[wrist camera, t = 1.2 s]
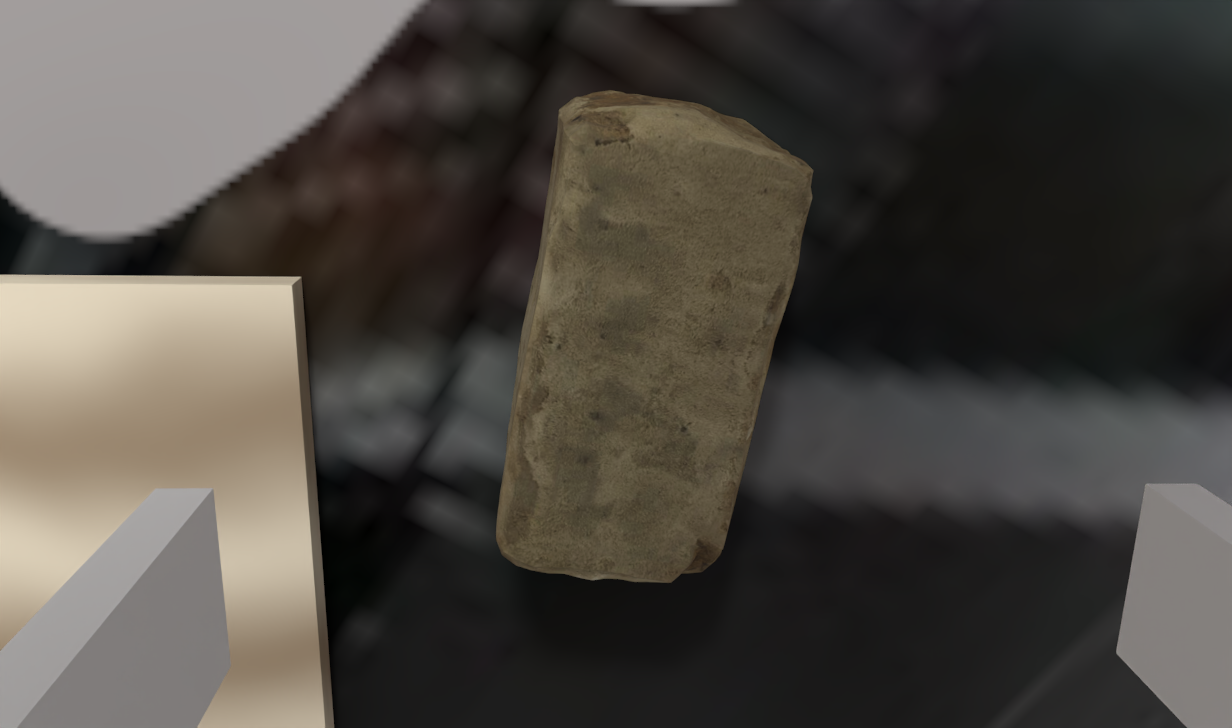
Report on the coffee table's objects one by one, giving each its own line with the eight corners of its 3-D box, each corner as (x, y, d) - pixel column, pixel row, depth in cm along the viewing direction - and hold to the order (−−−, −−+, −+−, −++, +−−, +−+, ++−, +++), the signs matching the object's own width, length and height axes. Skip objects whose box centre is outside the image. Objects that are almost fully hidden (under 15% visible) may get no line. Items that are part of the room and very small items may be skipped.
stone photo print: (-306, 272, 26) (-340, 281, 25) (301, 276, 26) (291, 285, 25) (-147, 910, 31) (-169, 937, 30) (346, 897, 32) (340, 923, 31)
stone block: (496, 494, 29) (484, 581, 24) (561, 77, 26) (562, 81, 21) (697, 522, 29) (724, 612, 25) (783, 118, 26) (834, 131, 21)
